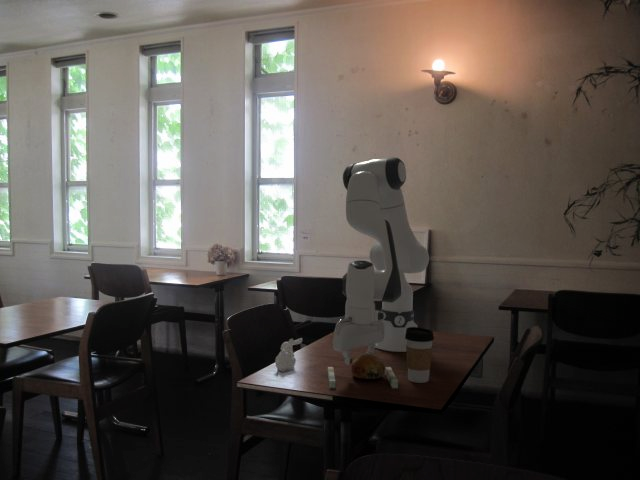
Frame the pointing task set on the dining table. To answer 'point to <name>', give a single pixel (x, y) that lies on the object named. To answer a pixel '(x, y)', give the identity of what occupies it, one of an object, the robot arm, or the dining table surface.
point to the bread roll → (368, 367)
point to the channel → (388, 373)
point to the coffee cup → (419, 353)
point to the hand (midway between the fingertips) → (358, 361)
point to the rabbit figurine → (286, 356)
